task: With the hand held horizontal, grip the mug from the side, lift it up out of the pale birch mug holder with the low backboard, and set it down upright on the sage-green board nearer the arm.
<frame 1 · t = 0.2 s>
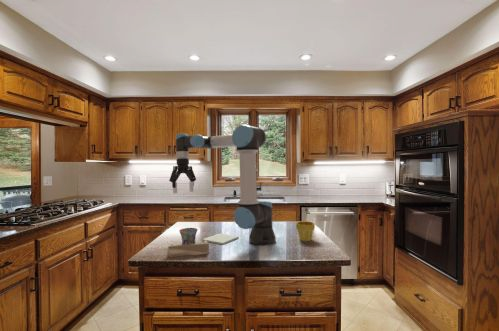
hand: (183, 192, 172), 27 cm above the countertop, tool pointing down, fingers open, 13 cm apart
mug: (189, 249, 144), resting in mug holder
mug holder: (189, 249, 144), on the countertop
target board: (221, 239, 162), on the countertop
plant pot: (305, 240, 159), on the countertop
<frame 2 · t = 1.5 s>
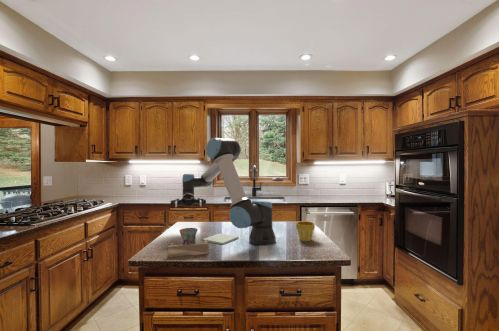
hand: (188, 204, 154), 22 cm above the countertop, tool horizontal, fingers open, 13 cm apart
nothing on the countertop moved.
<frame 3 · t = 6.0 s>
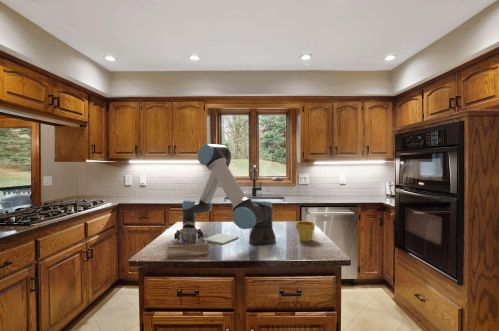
hand: (188, 239, 140), 7 cm above the countertop, tool horizontal, fingers closed on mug, 8 cm apart
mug: (189, 249, 144), resting in mug holder, touching gripper
everything else where it was.
when the fingers open (9 cm above the countertop, at t = 12.7 s): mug moves 4 cm, resting on target board.
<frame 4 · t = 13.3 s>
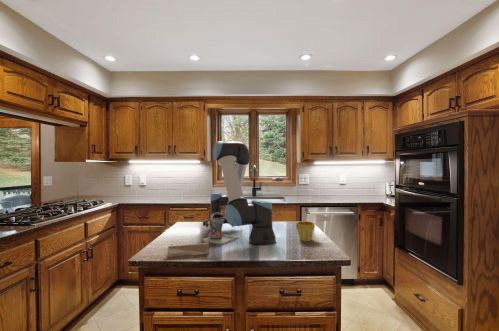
hand: (221, 225, 159), 9 cm above the countertop, tool horizontal, fingers open, 13 cm apart
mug: (214, 237, 163), point 1 cm above the countertop, touching gripper, target board
everything else where it was.
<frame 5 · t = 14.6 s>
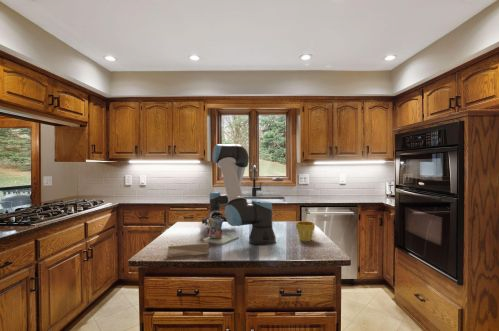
hand: (219, 223, 164), 9 cm above the countertop, tool horizontal, fingers open, 13 cm apart
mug: (214, 237, 163), point 1 cm above the countertop, touching target board
everything else where it was.
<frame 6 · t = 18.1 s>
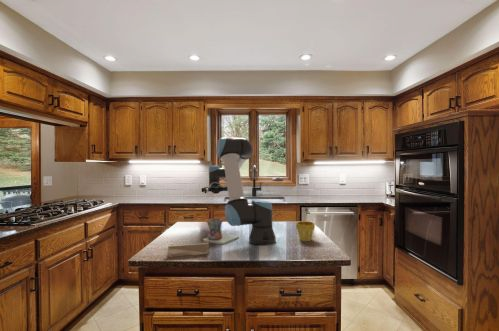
hand: (218, 190, 171), 28 cm above the countertop, tool horizontal, fingers open, 13 cm apart
at the end: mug inside the target area on the target board (3.7 cm from its centre), point 0.8 cm above the target board's base; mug tilted 0°; the gripper is holding nothing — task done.
